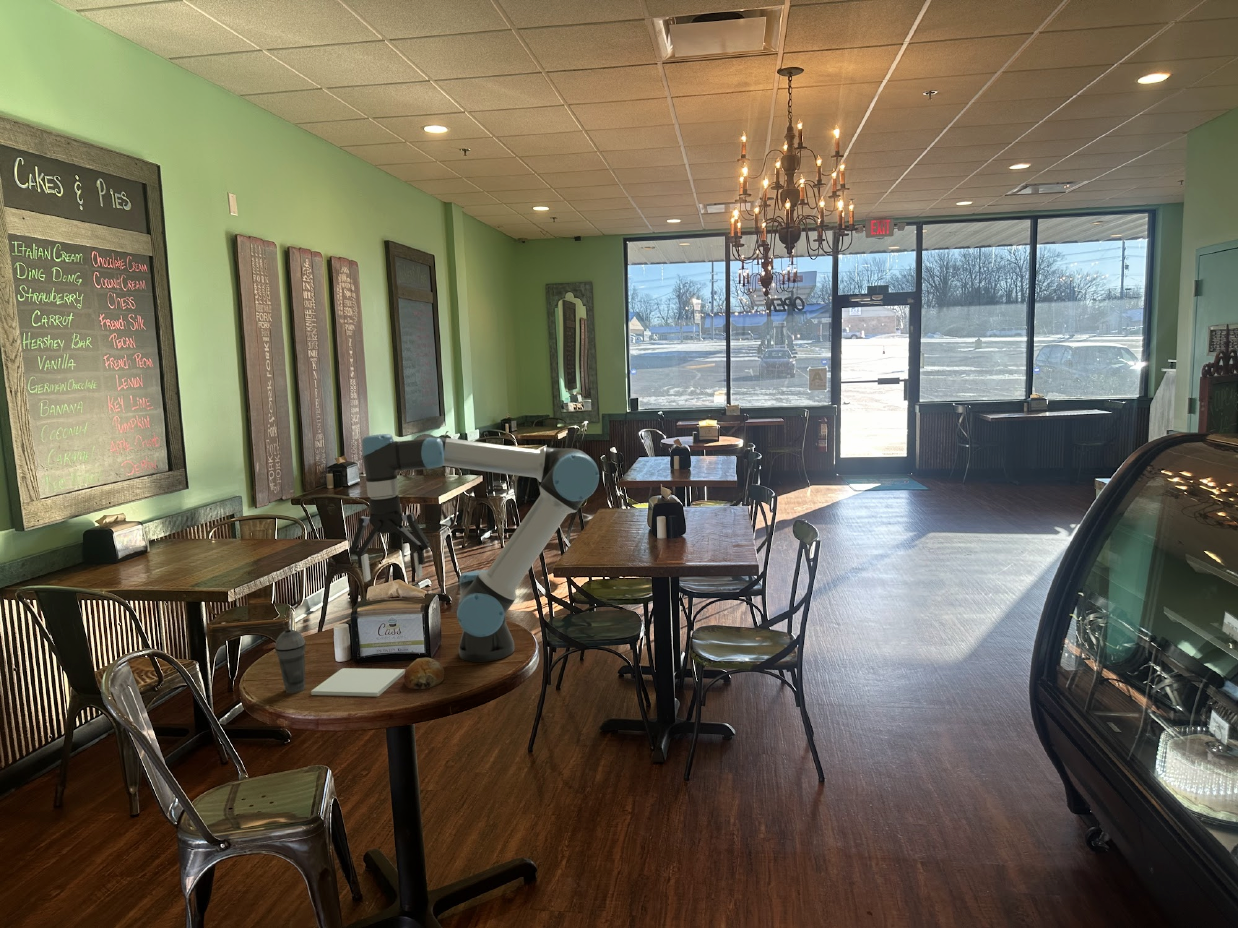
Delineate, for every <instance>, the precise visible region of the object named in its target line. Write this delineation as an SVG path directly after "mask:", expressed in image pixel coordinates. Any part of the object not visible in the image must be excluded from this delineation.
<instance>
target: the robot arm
mask: <svg viewBox="0 0 1238 928" xmlns="http://www.w3.org/2000/svg"><path fill="white" fill-rule="evenodd" d="M361 443H362V457H363V458H362V461H363V467H364V472H365V480H366V481H365V482H366V492H367V496H368V497H369V498H368V507H369V508H368V509H369V514H370V516H369V517H367V516H365V515H363V516H361V517H359V518H358V519H357V528H356V531H355V535H354V537H353V539H352V542H351V545H350V548H349V550H348V551H349V553H348V554H350V555H354V556H356V557H357V562H358V563H357V564H358V568H359V569H362V574H363V582H365V583H367V582H368V581H370V580H371V579H372V578H371V569H370V560H369V554H368V553H366V552H367V550H368V548H369V547H370V545H371V544H372V543H373V541H374V540H375V538H376V537H377V535H378V534H380V535H384V534H393V533H396V534H397V535H399V536H400V537H401V538H402V539H403V540H405V542H406V543H407V544H409V546H410V547H411V548H412V549H414V553H413V559H414V568H415V576H416V577H415V578H416V579H421V578H422V577H423V565H424V564H425V562H426V561H425V552H424V551H426V550H428V549H429V548H431V543H430V541H429V540H428V538H427V536H426V535H425V533H424V532H423V530H422V528H421V527H420V525H419V523H418V522H417V521H416V516H415V513H414V512H410V513H408V514H403V513H402V506H401V499H400V496H399V495H398V494H400V491H399V481H398V474H397V472H403V471H414V470H426V469H428V470H432V469H437V468H441V467H443V466H445V467H451V468H459V469H460V468H461V469H468V470H473V471H474V470H475V471H483V472H491V473H497V474H504V475H510V476H511V475H512V476H513V475H514V476H520V477H527V478H528V477H529V478H536V479H537V480H538V482H540V485H539V492H540V495H539V496H538V498H537V499H536V501H535V502H534V504H533V505H532V506H531V508H530V510H528V512H527V514H526V515H525V516H524V518H523V519H522V521H521V522H520V524H519V526H518V527H517V528H516V529H515V531H514V532H513V534H512V535H511V537H510V538H509V540H508V541H507V542H506V544H505V546H504V547H503V548H502V550H501V551H500V553H499V554H498V555H497V557H496V559H495V560H494V561H493V563H492V564H491V566H490V567H489V568H488V569H481V570H473V571H468V572H463V573H462V574H460V575H459V583H458V585H459V589H460V591H459V592H460V595H459V596H460V597H459V601H458V605H457V608H456V618H457V621H458V624H459V626H460V627H461V629H462V634H461V637H460V641H459V646H458V653H459V654H458V655H459V658H460V659H461V660H463V661H467V662H471V663H472V662H474V663H484V662H485V663H486V662H487V663H488V662H492V661H498V660H501V659H504V658H506V657H509V656H511V655H512V654H513V653H514V652H515V641H514V639H513V636H512V634H511V632H510V629H509V627H508V625H507V618H506V613H508V611H509V609H510V608H511V607H512V605H513V603H514V602H516V599H517V593H516V589H517V587H518V586H519V585H520V584H521V582H522V581H523V579H524V578H525V576H526V575H527V573H528V572H529V571H530V569H531V568H532V566H533V565H534V563H535V562H536V560H537V559H538V557H540V555H541V553H543V550H544V549H545V548H546V546H547V545H548V543H549V542H550V540H551V539H552V537H553V536H554V534H555V533H556V531H558V529H559V527H560V526H561V524H562V523H563V522H564V520H565V518H566V517H567V516H568V515H569V514H572V513H573V514H574V513H576V512H578V510H579V509H580V508H581V506H582V504H583V503H584V502H585V500H587V499H588V498H589V497H591V496H592V495H593V494H594V493H595V491H596V490H597V488H598V485H599V480H600V472H599V471H600V470H599V468H598V465H597V463H596V462H595V460H594V459H593V458H592V457H591V456H589V455H588V454H587V453H586V452H585V451H583V450H580V449H577V448H570V447H569V448H565V447H564V448H561V447H560V448H559V447H558V448H557V447H547V446H544V447H542V448H540V449H532V448H527V447H519V446H511V445H506V444H505V445H503V444H497V443H496V444H495V443H491V442H490V443H487V442H483V441H482V442H481V441H473V440H465V439H460V438H459V439H458V438H450V437H441V436H435V435H433V434H430V433H422V434H419V435H417V436H416V437H414V439H408V440H394V438H393V436H392V434H390V433H382V434H381V433H380V434H371V435H367V436H364V437H363V438H362V440H361ZM403 521H405V523H406V524H407V525H408V526H409V528H410V530H411V531H412V533H413V535H412V534H411V533H410V532H409V531H408V530H407V529H406V527H405V526H404V525H403ZM369 523H370V525H371V526H372V527H373V528H372V529H371V531H370V532H369V534H368V535H367V537H366V539H365V540H364V542H363V543H362V544H361V542H362V539H363V536H364V533H365V530H366V528H367V526H368V525H369ZM414 536H415V537H416V538H415V537H414ZM360 544H361V546H360ZM359 547H360V548H359Z"/></svg>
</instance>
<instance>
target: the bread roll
mask: <svg viewBox="0 0 1238 928" xmlns="http://www.w3.org/2000/svg"><path fill="white" fill-rule="evenodd" d="M444 676H445V668H444V667H443V666H442V664H441V663H440V662H439V661H438V660H435V659H434V658H432V657H420V658H416V659H415V660H414V661H413V662H411V663H410V664H409V666H408V667H407V668H406V669H405V674H404V675H403V678H404V681H403V682H404V684H405V686H406V687H407V688H409V689H410V690H411V689H412V690H426V689H429V688H433V687H435V686H437V685H439V684H441V683H442V682H443V681H444V678H445V677H444Z"/></svg>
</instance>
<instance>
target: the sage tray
mask: <svg viewBox="0 0 1238 928" xmlns="http://www.w3.org/2000/svg"><path fill="white" fill-rule="evenodd" d="M405 671H406V669H405V668H404V669H403V668H402V669H401V668H400V669H399V668H397V669H395V668H357V667H356V668H354V667H353V668H347V667H346V668H345V667H343V668H341V669H340V670H338V671H337V672H335V673H334V674H332V675H331V676H330V677H328V678H327V679H325V680H324V681H323V682H322V683H320V684H319V685H318V686H316V687H314V688H313V689H311V691H310V694H311V696H338V697H339V696H343V697H345V696H346V697H348V696H349V697H379V696H380V695H382V694H383V693H384V692H385V691H387V689H389V687H391V686H392V685H393V684H394V683H396V682H397V681H398V680H399V679H400V678H401V677H402V676H404V674H405Z"/></svg>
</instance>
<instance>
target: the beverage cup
mask: <svg viewBox="0 0 1238 928" xmlns="http://www.w3.org/2000/svg"><path fill="white" fill-rule="evenodd" d="M293 615H294V614H293V612H291V613H290V618H289V619H290V622H289V624H290V628H289V629H287V630H285V631H282V632H281V633H280V634H279V635H278V637H277V638H276V641H275V644H274V645H275V647H274V650H275V652H276V656H277V658H278V663H279V666H280V671H281V675H282V676H281V677H282V681H283V685H284V688H285V692H286V693H287V694H296V693H300V692H302V691H304V690H305V688H306V666H305V665H306V664H305V662H306V660H305V652H306V644H307V643H306V641H305V637H303V635H302V634H301V633H300V632H299V631H298V630H295V629H293V620H294V619H293Z"/></svg>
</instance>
